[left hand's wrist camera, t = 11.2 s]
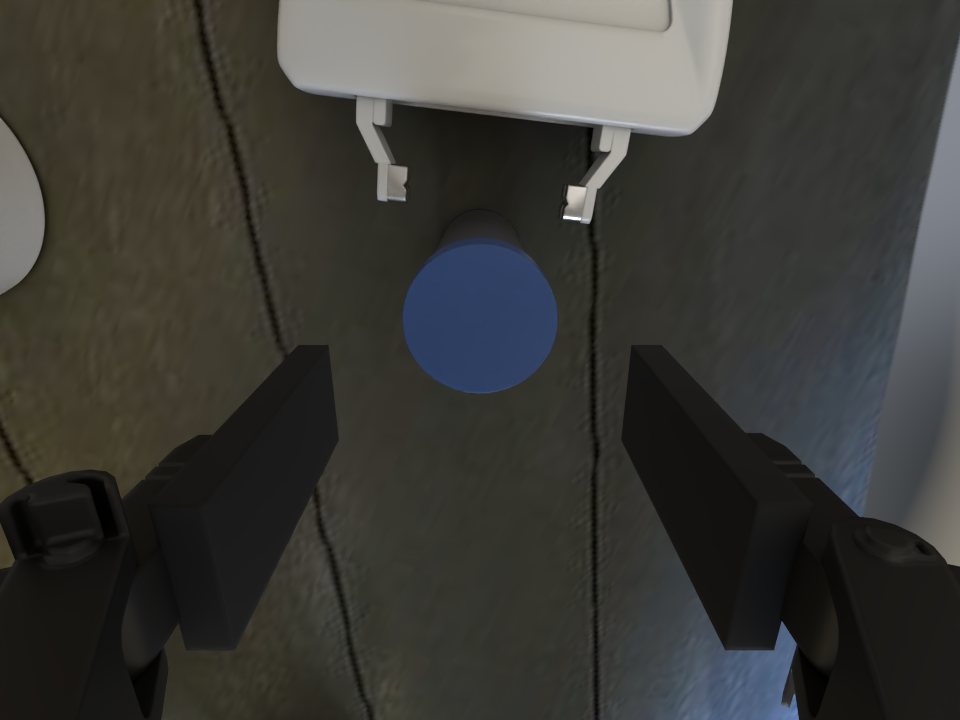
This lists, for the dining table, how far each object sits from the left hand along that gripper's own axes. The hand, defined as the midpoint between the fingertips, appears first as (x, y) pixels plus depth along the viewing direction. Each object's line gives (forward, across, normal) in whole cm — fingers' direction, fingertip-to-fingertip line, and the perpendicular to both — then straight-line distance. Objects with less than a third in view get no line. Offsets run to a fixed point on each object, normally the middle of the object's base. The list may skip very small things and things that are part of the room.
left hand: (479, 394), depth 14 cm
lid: (+7, 0, 0) cm, 7 cm away
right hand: (+16, 0, +3) cm, 16 cm away
